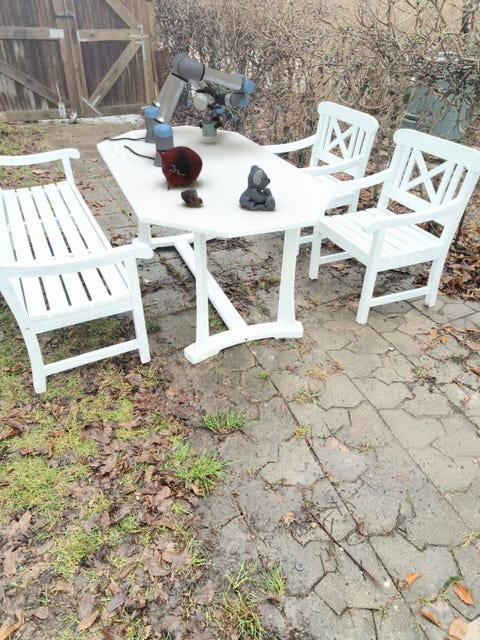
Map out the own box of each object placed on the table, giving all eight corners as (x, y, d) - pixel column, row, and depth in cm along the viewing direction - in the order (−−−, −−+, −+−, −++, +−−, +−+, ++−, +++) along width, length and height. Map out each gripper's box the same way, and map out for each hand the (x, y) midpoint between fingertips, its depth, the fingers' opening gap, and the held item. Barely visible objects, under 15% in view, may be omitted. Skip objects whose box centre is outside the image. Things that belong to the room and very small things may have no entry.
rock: (196, 202, 238) (178, 205, 233) (194, 185, 234) (176, 188, 230) (205, 205, 228) (187, 208, 224) (203, 188, 224) (185, 191, 220)
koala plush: (276, 211, 223) (277, 171, 212) (240, 212, 222) (240, 172, 211) (271, 199, 237) (272, 161, 226) (237, 200, 236) (237, 162, 225)
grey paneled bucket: (191, 99, 313) (197, 90, 316) (198, 111, 319) (204, 102, 323) (201, 96, 307) (207, 87, 311) (208, 108, 314) (214, 99, 318)
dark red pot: (160, 151, 264) (154, 150, 240) (199, 143, 263) (196, 140, 240) (169, 188, 271) (164, 190, 247) (207, 180, 270) (206, 181, 246)
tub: (199, 135, 334) (198, 122, 329) (209, 132, 341) (209, 120, 336) (209, 137, 328) (209, 124, 323) (219, 135, 335) (219, 122, 330)
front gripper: (220, 88, 298) (191, 86, 306) (228, 117, 317) (201, 115, 325) (224, 81, 301) (196, 79, 309) (232, 110, 320) (205, 108, 328)
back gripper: (231, 127, 345) (223, 133, 327) (202, 125, 350) (192, 131, 332) (231, 116, 341) (222, 122, 323) (201, 115, 346) (192, 120, 328)
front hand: (198, 97), depth 317 cm, fingers closed on grey paneled bucket, 10 cm apart
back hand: (207, 127), depth 328 cm, fingers closed on tub, 11 cm apart
